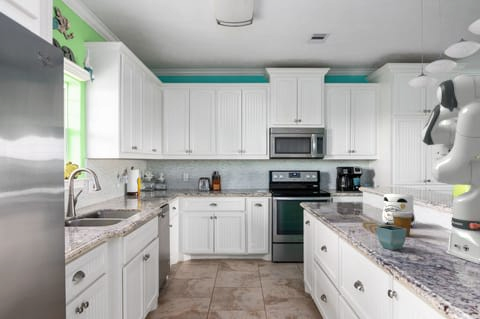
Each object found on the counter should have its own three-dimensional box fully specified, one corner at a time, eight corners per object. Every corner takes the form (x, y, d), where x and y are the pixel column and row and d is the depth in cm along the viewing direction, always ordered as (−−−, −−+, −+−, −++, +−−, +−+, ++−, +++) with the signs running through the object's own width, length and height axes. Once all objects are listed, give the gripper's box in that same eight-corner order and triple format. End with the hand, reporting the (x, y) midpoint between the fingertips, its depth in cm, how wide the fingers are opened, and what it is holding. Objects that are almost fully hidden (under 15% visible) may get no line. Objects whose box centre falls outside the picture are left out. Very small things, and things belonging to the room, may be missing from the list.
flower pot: (390, 244, 140) (390, 225, 140) (407, 250, 131) (407, 228, 131) (375, 246, 136) (375, 226, 136) (392, 252, 128) (392, 230, 128)
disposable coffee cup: (417, 236, 154) (417, 212, 154) (402, 238, 151) (402, 213, 151) (401, 232, 163) (401, 210, 163) (387, 234, 160) (387, 211, 160)
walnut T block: (413, 237, 154) (413, 231, 154) (381, 237, 154) (381, 231, 154) (389, 226, 178) (389, 221, 178) (362, 226, 178) (362, 221, 178)
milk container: (384, 227, 176) (384, 196, 176) (380, 221, 193) (380, 193, 193) (418, 229, 171) (418, 197, 171) (411, 223, 188) (411, 194, 188)
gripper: (430, 151, 169) (430, 177, 169) (457, 150, 148) (457, 179, 148) (442, 151, 169) (442, 177, 169) (470, 150, 148) (470, 179, 148)
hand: (449, 178), depth 158 cm, fingers closed
